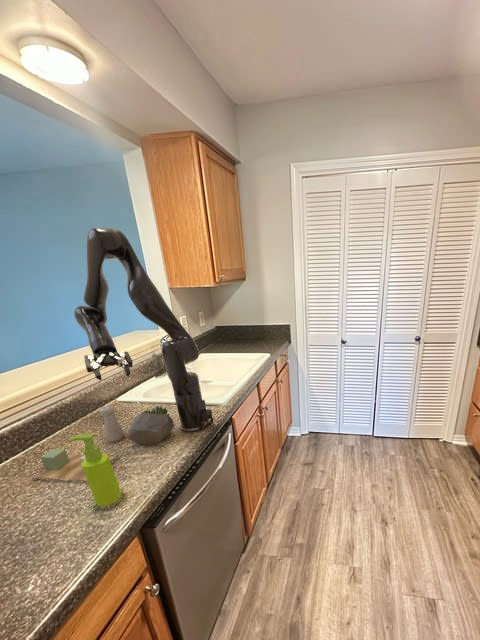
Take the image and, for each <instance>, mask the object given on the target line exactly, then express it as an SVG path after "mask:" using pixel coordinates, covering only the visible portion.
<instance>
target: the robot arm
mask: <svg viewBox="0 0 480 640" xmlns="http://www.w3.org/2000/svg"><path fill="white" fill-rule="evenodd" d="M105 260H118V261H119V262H120V264H121V265H122V267H123V269H124V270H125V272H126V276H127V285H126V287H127V294H128V298H129V299H130V300H131V302H132V303H133V305H134V306H135V308H136V310H137V311H138V312H139V314H140V315H142V316H143V317H144V318H145V319H146V320H148V321H149V322H151V323H153V324H154V325H156V326H157V327H159V328H160V329H162V330H163V331H164V332H165V333H166V334H167V335H168V337H169V338H170V339H171V340H168V341H165V342H164V343H163V344H162V346H161V355H162V360H163V364H164V367H165V370H166V374H167V377H168V380H169V381H170V382H171V386H172V392H173V396H174V400H175V405H176V410H177V414H178V418H179V422H180V428H181V429H180V430H182V431H184V432H188V433H189V432H197V431H203V430H204V429H205V427H207V425H208V426H212V424H213V423H214V418H213V411H212V409H208V408H207V404H206V400H205V399H203V396H202V391H201V385H200V378H199V375H198V374H197V373H196V372H192V371H187V367H186V365H189V364H192V363H194V362H195V361H197V360H198V359H199V357H200V352H199V351H200V349H199V347H198V345H197V343H196V342H195V340H194V338H193V336H192V335H190V333H189V332H188V331H187V329H185V327H184V326H183V325H182V324H181V322H180V321H179V320H178V318H177V317H176V315H175V314H174V313H173V311H172V310H171V308H170V307H169V305H168V303H167V302H166V300H165V299H164V297H163V296H162V294H161V293H160V291H159V290H158V288H157V286H156V285H155V284H154V282H153V280H151V278H150V276H149V274H148V273H147V272H146V270H145V268H144V266H143V264H142V263H141V262H140V259H139V258H138V255H137V254H136V251H135V250H134V249H133V246H132V244H131V242H130V240H129V239H128V237H127V236H126V235H125V233H123V232H122V231H121V230H120V229H116V228H108V227H92V228H91V229H89V231H88V232H87V237H86V284H85V289H84V294H83V301H84V303H85V304H86V305H78V306H77V307H75V308H74V311H73V315H74V318H75V321H76V323H77V324H78V325H79V326H80V328H82V329H83V331H84V332H85V333H86V336H87V338H88V343H89V347H90V350H91V352H92V355H93V356H89V355H87V354H85V355H84V356H83V358H84V364H85V368H86V372H87V373H94V377H95V379H96V380H98V381H102V374H101V371H100V370H102V369H103V367H105V368H106V367H113V366H117V367H119V368H122V369H123V371H124V373H125V376H126V377H130V375H131V368H133V363H134V362H133V359H132V358H131V355H130V353H129V352H128V351H123V353H120V352H118V351H117V350H118V349H117V347H116V345H115V342H114V340H113V337H112V336H111V334H110V332H109V330H108V327H107V325H106V324H107V322H108V315H107V307H106V306H107V305H106V304H107V299H108V297H109V296H108V295H109V291H110V288H109V286H110V285H109V282H108V280H107V278H106V276H105V273H104V272H103V264H104V261H105ZM93 362H95V363H94V365H93V366H92V365H91V364H92V363H93ZM209 420H210V421H209Z"/></svg>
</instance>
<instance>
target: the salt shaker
mask: <svg viewBox="0 0 480 640" xmlns="http://www.w3.org/2000/svg"><path fill="white" fill-rule="evenodd" d="M99 414H100V416H102V417H103V427H104V438H105V439H106V441H108V442H110V443H111V442H112V443H113V442H117V441H120V440H121V439H123V438H124V436H125V432H124V431H123V428H122V427H121V424H120V423H119V421H118V419H117V417H116V416H115V408H114V407H113V406H112V405H106V406H102V407H101V408H100V409H99Z"/></svg>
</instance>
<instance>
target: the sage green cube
mask: <svg viewBox="0 0 480 640" xmlns="http://www.w3.org/2000/svg"><path fill="white" fill-rule="evenodd" d="M68 455H69V454H68V453H67V450H66V449H60V448H52V449H51V450H49V451H47V452H46V453H44V454H43V455H41V456H40V460H41V462H42V465H43V466H44V470H45V469H48V470H59V469H61V468H62V467H63V466H65V465H66V464H67V463H69V462H70V460H69V458H68Z"/></svg>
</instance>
